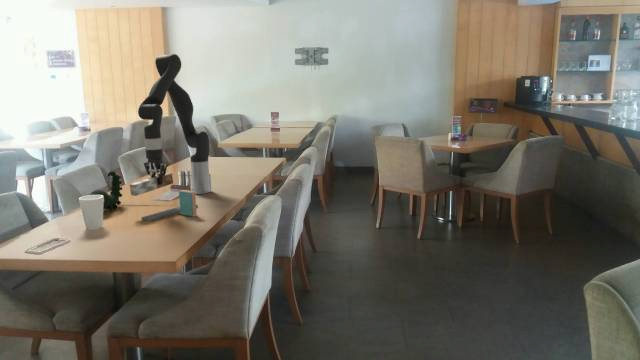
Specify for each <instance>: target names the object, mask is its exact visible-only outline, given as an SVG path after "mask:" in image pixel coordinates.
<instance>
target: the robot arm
mask: <svg viewBox="0 0 640 360" xmlns="http://www.w3.org/2000/svg"><path fill="white" fill-rule="evenodd" d="M154 62H155V68H156V70H157V72H158V74H159V77H160V78H158V79H157V80H156V81H155V82H154V83H153V85H152V87H151V89H150V90H149V93H148V96H146V97H145V98H144V100H143V101H141V103H140V105H139V106H138V111H137V113H138V117H139V118H140V119H141V120H144V121H146V120H147V121H148V120H150V121H152V122H151V124H147V125H145V126H144V128H143V133H144V147H145V150H144V151H145V158H146V159H147V161H146V162H144V163H143V166H144V168H145V171H146V174H147V175H148V176H149V177H150V178H152V177H155V176H157V182H158V185H162V183H163V182H162V176H164V175H165V174H166V173H167V167H168V163H164V162H163V158H164V151H163V141H162V135H161V133H162V132H161V125H162V119H163V115H164V112H163V108H162V106H161V105H163V103H164V100H165V98H166V96H167V93H168V96H169V98H170V101H171V103H172V106H173V108H174V110H175V113H176V115H177V118H178V121H179V123H180V126H181V129H182V131H183V137H184V139H185V143H186V145H187V146H188V147H189V148H191V149H195V153H194V154H192V155H191V156H190V171H191V174H190V175H191V188H192V191H194V192H195V195H204V194H209V193H211V192H212V180H211V179H212V176H211V173H210V167H209V156H210V136H209V135H208V132H206V131H203V130H196V128H195V126H194V123H193V115H194V105H193V101H192V98H191V96H190V94H189V93H188V92H187V91H186V89H184V88H183V87H181V86H180V84H178V83H177V81H176V80H175V79H176V78H177V76H178V74H179V73H180V72H181V69H182V61H181V58H180V56H179V55H178V54H175V53H172V54H171V53H170V54H163V55H158V56H157V57H156V58H155V61H154Z"/></svg>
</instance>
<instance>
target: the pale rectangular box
mask: <svg viewBox="0 0 640 360" xmlns="http://www.w3.org/2000/svg"><path fill="white" fill-rule="evenodd" d="M162 182H163V183H162V185H158V182H157V175H155V177H152V178H151V177H149V178H146V179H143V180H139V181H136V182H133V183H129V191H130V195H131V196H134V197H137V196H140V195H143V194H146V193H150V192H152V191H154V190H158V189H160V188H163V187H167V186H169V185H172V184H174V178H173V173H172V172H166V174H165V175H164V176H162Z"/></svg>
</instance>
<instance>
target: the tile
mask: <svg viewBox="0 0 640 360" xmlns="http://www.w3.org/2000/svg"><path fill="white" fill-rule="evenodd" d="M178 196H179V199H178V200H179V206H180V215H185V216H188V215H189V216H190V217H193V216H194V217H195V215H198V214H197V213H198V212H197V208H196V205H197V200H196V199H197V196H196V194H195V192H194V191H193V190H186V189H181V190H179V191H178Z"/></svg>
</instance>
